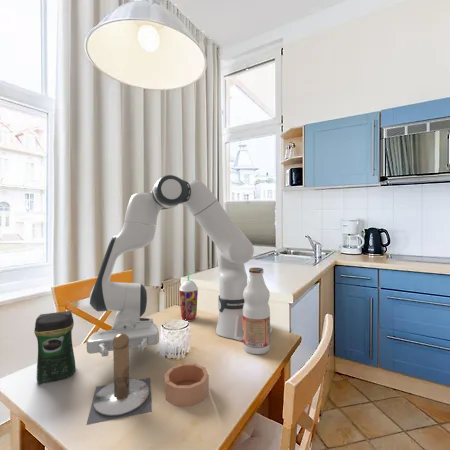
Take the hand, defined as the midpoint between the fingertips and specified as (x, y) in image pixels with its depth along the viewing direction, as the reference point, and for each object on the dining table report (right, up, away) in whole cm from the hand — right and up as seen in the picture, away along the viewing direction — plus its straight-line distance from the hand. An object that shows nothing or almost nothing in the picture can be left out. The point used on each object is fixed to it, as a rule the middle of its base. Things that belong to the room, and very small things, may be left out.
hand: (122, 351), depth 77 cm
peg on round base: (+2, -9, -7) cm, 11 cm away
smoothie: (+12, -7, +47) cm, 49 cm away
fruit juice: (+39, -8, +20) cm, 45 cm away
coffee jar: (-21, -9, +4) cm, 23 cm away
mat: (+2, -9, -7) cm, 12 cm away
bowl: (+18, -9, -4) cm, 21 cm away
